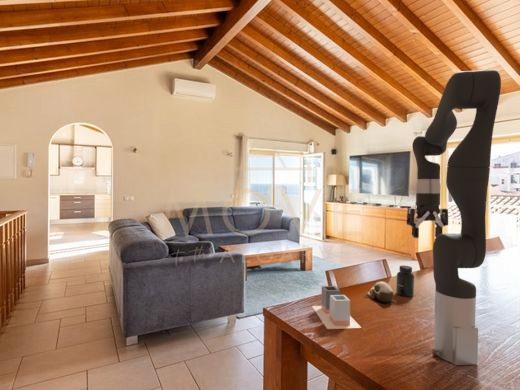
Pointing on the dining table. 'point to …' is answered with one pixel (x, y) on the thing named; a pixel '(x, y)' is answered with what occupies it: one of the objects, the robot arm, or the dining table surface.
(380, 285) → the skull
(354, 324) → the pin board
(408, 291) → the supplement bottle
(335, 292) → the charcoal sleeve
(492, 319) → the dining table surface
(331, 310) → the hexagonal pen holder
